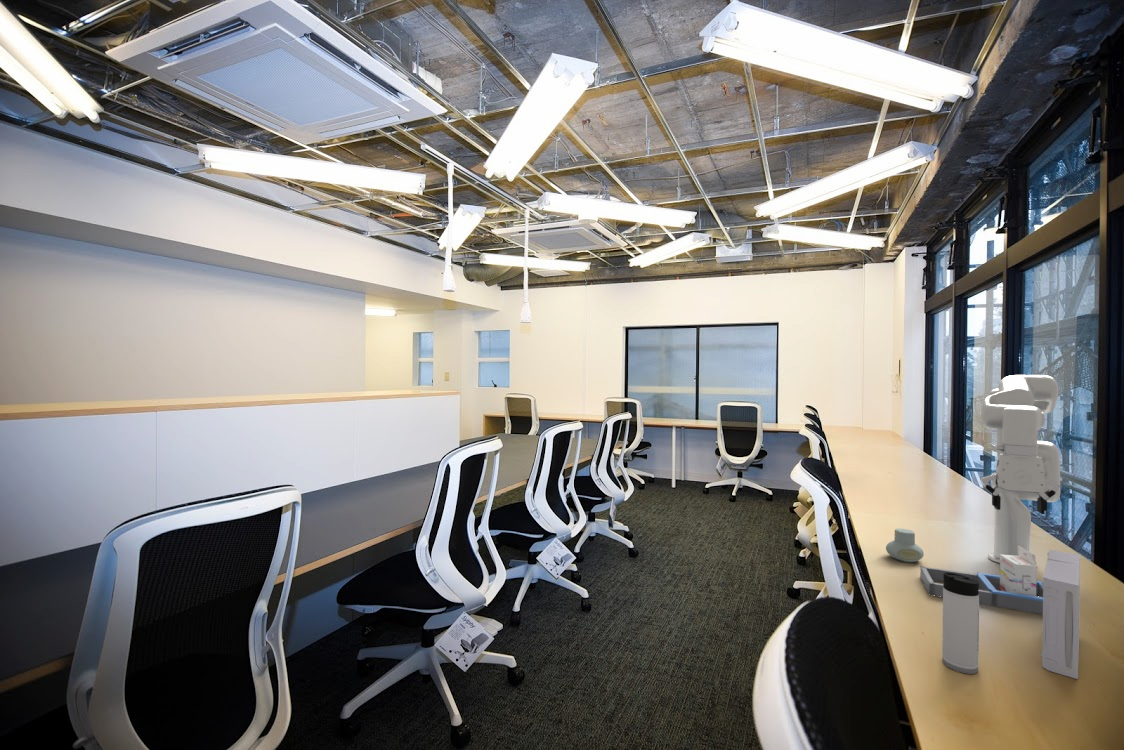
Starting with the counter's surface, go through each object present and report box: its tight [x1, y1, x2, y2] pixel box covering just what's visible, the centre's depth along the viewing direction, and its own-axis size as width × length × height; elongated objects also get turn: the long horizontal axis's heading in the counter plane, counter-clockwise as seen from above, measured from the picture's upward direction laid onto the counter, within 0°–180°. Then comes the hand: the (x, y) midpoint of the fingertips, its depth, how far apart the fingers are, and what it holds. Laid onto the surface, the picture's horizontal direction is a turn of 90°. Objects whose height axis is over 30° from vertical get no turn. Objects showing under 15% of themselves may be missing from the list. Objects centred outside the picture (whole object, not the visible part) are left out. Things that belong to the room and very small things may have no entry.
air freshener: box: [885, 528, 924, 563], centre depth 179 cm, size 11×8×10 cm
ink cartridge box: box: [999, 546, 1037, 596], centre depth 147 cm, size 9×5×15 cm, turn 166°
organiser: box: [919, 565, 1043, 615], centre depth 150 cm, size 16×30×4 cm, turn 63°
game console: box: [1040, 549, 1081, 680], centre depth 120 cm, size 6×27×20 cm, turn 135°
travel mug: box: [941, 573, 980, 675], centre depth 113 cm, size 6×7×20 cm
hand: (1018, 510), depth 147 cm, fingers open, 9 cm apart
